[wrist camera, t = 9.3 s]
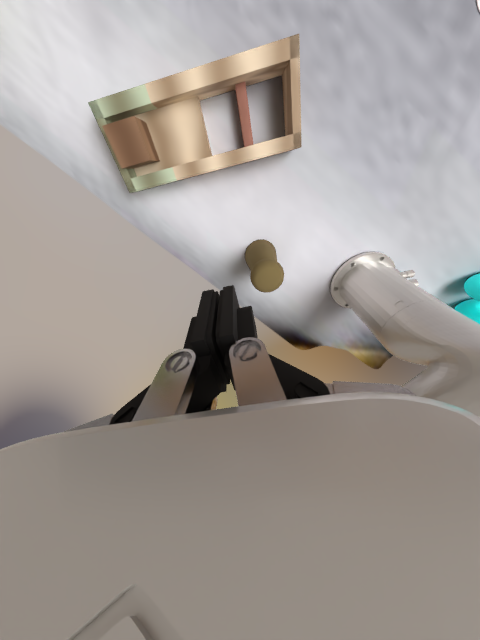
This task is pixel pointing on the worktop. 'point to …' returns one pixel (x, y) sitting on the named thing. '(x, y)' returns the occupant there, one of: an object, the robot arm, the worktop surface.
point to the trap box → (187, 119)
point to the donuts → (473, 308)
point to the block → (131, 142)
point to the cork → (264, 266)
